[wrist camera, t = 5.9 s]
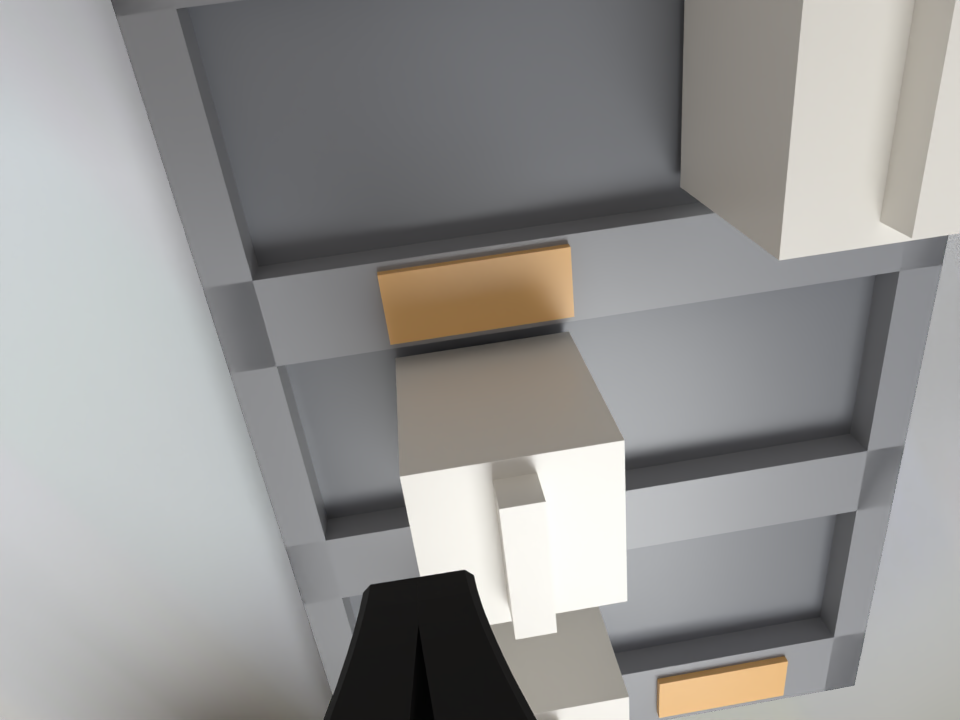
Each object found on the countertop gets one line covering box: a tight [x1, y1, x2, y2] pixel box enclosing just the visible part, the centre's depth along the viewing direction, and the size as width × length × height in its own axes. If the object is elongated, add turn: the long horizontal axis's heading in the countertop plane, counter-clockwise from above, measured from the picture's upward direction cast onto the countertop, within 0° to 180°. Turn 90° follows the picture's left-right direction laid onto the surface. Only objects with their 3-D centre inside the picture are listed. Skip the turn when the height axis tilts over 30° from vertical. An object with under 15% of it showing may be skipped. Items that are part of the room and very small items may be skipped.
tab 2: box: [680, 0, 960, 260], centre depth 12 cm, size 4×4×5 cm
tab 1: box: [490, 606, 629, 720], centre depth 19 cm, size 4×4×5 cm
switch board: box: [111, 0, 948, 720], centre depth 18 cm, size 16×24×2 cm, turn 6°
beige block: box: [395, 332, 627, 640], centre depth 15 cm, size 4×4×5 cm
